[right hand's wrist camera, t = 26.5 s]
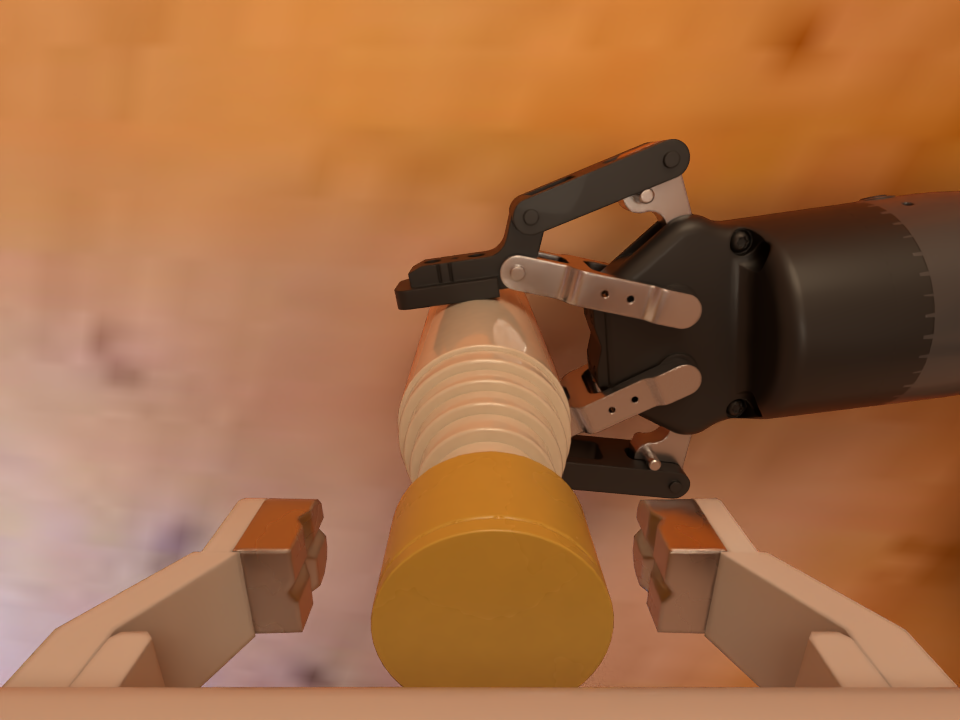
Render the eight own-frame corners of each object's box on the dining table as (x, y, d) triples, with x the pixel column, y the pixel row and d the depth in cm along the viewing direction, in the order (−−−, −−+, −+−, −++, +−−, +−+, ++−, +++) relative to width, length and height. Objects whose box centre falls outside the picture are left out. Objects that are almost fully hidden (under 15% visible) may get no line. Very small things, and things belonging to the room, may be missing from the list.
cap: (602, 460, 10) (639, 543, 8) (566, 617, 11) (588, 726, 9) (399, 439, 10) (377, 518, 8) (385, 600, 11) (364, 707, 9)
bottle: (531, 353, 27) (630, 682, 10) (437, 361, 27) (373, 702, 10) (525, 258, 25) (633, 455, 8) (425, 267, 26) (324, 481, 8)
